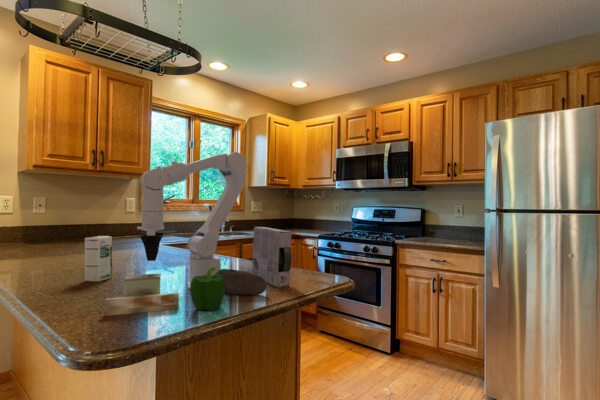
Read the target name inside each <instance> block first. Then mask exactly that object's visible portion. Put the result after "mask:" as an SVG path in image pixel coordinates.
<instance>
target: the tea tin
mask: <svg viewBox="0 0 600 400" xmlns="http://www.w3.org/2000/svg"><path fill="white" fill-rule="evenodd" d="M123 282H124V285H123V286H124V289H123V293H124V295H123V297H133V296H144V295H156V294H161V273H147V274H145V273H144V274H132V275H131V274H130V275H126V276H125V277H124V279H123Z"/></svg>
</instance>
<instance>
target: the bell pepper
mask: <svg viewBox="0 0 600 400" xmlns="http://www.w3.org/2000/svg"><path fill="white" fill-rule="evenodd" d="M214 269H215V267H213V266H211V267H210V268H209V269H208V271H207V274H205V275H203V276H195V277H193V279H192V281H191V289H190V295H191V299H192V303H193V306H194V308H195V309H196V310H198V311H206V310H207V311H214V310H218V309H220V307H221V306H222V303H223V300H224V295H225V293H224V291H225V281H224V278H223V277H221V276H220V275H219V274H215V275H213V276H212V275H211V271H212V270H214Z"/></svg>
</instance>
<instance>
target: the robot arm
mask: <svg viewBox="0 0 600 400" xmlns="http://www.w3.org/2000/svg"><path fill="white" fill-rule="evenodd" d="M247 167H248V164H247V162H246V159H245V156H243V154H242V153H241V152H238V151H234V152H231V153H221V154H215V155H211V156H209V157H205V158H202V159H199V160H196V161H193V162H190V163H184V162H182V161H178V160H174V161H172V162H171V164H167V165H164V166H161V165H159V166H156V167H155V168H153V169H151V170H147V171H145V172H143V174H141V177H140V180H139V183H140V184H139V185H140V186H141V187H142V195H141V226H136V227H137V228H136V229H137V230H141V231H145V232H144V233H142V234H141V235H140V236H139V238H140V240H141V242H142V244H143V246H144V251H145V257H146V260H147V262H151V261H152V262H154V261H155V262H156V260H157V257H158V253H159V248H160V243H161V240H162V238H163V235H164V234H165V233H164V231H163V230H164V229H165V226H164V188H165V187H166V186H167V187H168V186H171V185H174V184H177V183H180V182H184V181H186V180H189V179H188V178H189V177H190V175H191V174H194V173H197V172H201V171H205V170H209V169H213V170H215V171H216V170H218V171H219V173H220V174H221V175H222V176H223V178H224V180H225V183H226V185H225V186H224V188H223V190H222V192H221V194H220V195H219V197H218V199H217V201H216V202H215V203H214V207H212V209H211V211H210V213H209V214H208V216H207V218H206V220H205V221H204V224H203V225H202V226H200V227H199V228H198V229H197V230H196V232H195V234H192V235H191V237H190V238H189V239H188V241H187V247H186V248H187V249H188V251H189V252H190V255H189V281H187V287H188V288H187V289H188V290H191V281H192V279H193V277H195V276H203V275H205V274H207V271H208V269H209V268H210V267H211V266H213V267H215V269H214V270H212V271H211V275H212V276H213V275H215V274H216V273H217V272H218V271H219V270H221V269H222V268H221V257H220V256H214V254H215V253H216V250H217V245H218V242H219V239H220V234H219V232H220V230H221V228H222V226H223V225H224V224H225V222H226V219H227V218H228V216H229V214H230V212H231V211H232V209H233V207H234V205H235V203H236V201H237V199H238V198H239V196H240V194H241V192H242V190H243V189H244V186H245V177H246V176H245V175H246V172H245V171H246V170H247Z"/></svg>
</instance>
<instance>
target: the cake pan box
mask: <svg viewBox="0 0 600 400" xmlns="http://www.w3.org/2000/svg"><path fill="white" fill-rule="evenodd" d="M252 246H253V247H252V265H251V269H252V270H251V273H254V274H257V275H259V276H261V277H262V278H263V279H264V280H265V282H266V284H268V285H269V284H270V285H271V286H274V287H275V288H279V289H280V288H284V287H289V286H290V275H291V274H290V273H291V272H290V271H291V267H292V262H293V260H292V259H293V256H292V255H293V254H292V232H291V231H290V230H282V229H278V228H272V227H266V226H254V227H253V242H252Z"/></svg>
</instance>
